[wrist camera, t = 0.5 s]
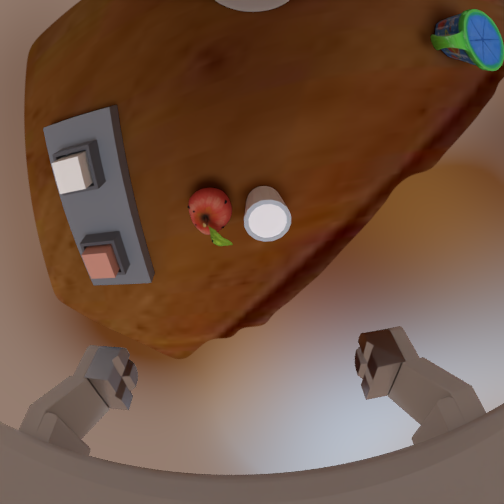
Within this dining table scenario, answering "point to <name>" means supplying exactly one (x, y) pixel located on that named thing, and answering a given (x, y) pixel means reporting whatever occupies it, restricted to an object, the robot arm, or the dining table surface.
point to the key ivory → (72, 172)
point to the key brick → (101, 261)
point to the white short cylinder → (266, 214)
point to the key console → (102, 193)
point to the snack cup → (470, 39)
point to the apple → (210, 213)
